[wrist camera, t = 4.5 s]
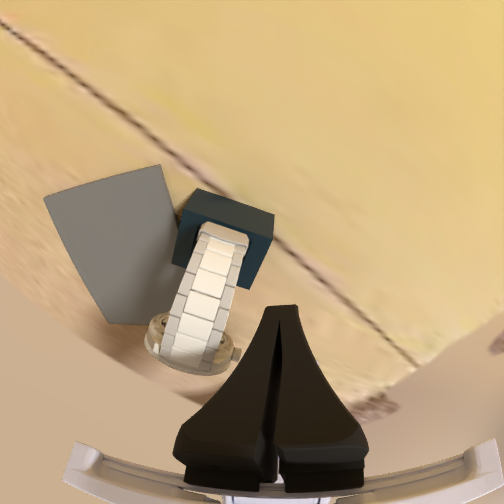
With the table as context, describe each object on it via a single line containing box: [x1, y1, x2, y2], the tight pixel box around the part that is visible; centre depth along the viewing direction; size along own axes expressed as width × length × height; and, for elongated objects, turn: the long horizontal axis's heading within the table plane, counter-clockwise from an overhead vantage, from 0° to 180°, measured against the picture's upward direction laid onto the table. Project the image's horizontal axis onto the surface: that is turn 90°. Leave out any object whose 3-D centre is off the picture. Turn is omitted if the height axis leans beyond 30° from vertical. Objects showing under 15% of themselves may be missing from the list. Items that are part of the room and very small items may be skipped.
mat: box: [43, 164, 194, 325], centre depth 24 cm, size 15×12×1 cm
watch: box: [144, 188, 274, 376], centre depth 16 cm, size 6×8×11 cm
